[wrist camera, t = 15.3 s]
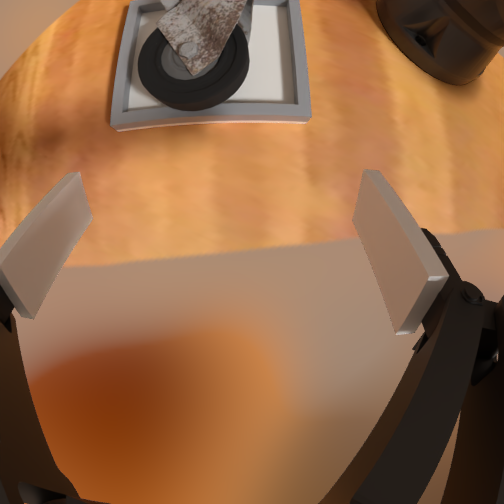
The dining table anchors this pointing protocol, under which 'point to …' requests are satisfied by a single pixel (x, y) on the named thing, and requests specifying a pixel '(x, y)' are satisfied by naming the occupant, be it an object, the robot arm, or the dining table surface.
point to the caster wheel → (197, 53)
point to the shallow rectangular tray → (250, 92)
